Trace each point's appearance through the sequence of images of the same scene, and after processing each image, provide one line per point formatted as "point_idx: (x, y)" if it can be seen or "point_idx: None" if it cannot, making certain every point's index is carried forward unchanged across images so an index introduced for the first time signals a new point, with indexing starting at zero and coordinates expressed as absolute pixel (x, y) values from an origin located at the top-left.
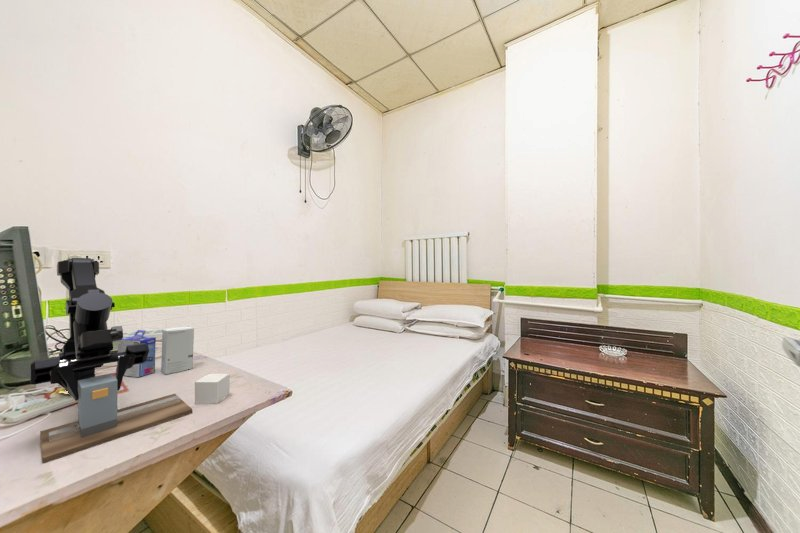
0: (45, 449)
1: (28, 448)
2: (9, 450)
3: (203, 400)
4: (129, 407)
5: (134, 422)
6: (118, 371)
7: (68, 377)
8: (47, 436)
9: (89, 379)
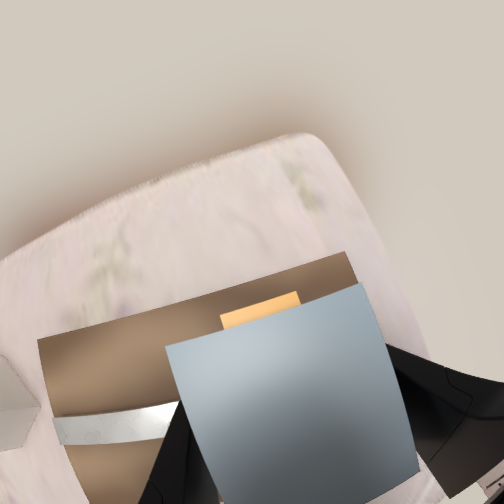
0: None
1: None
2: None
3: (18, 386)
4: None
5: (165, 354)
6: (179, 494)
7: (480, 392)
8: None
9: (365, 473)
